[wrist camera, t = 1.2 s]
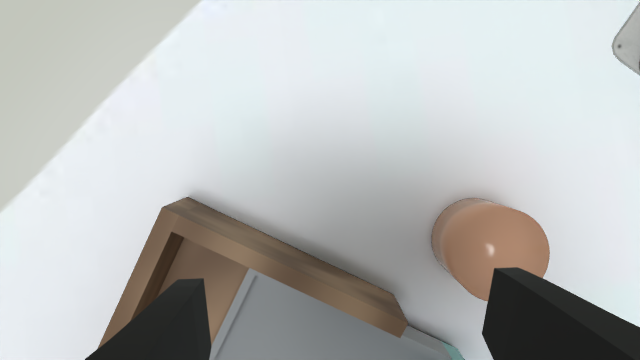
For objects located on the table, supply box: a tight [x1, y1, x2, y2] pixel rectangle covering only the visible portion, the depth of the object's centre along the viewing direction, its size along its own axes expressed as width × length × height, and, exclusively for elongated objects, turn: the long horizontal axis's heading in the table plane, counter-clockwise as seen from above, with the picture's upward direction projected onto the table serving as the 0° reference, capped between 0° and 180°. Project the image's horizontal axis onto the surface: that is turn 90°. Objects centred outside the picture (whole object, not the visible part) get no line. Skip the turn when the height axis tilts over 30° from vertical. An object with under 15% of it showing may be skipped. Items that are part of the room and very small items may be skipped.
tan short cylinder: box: [432, 198, 550, 301], centre depth 23 cm, size 5×5×4 cm
